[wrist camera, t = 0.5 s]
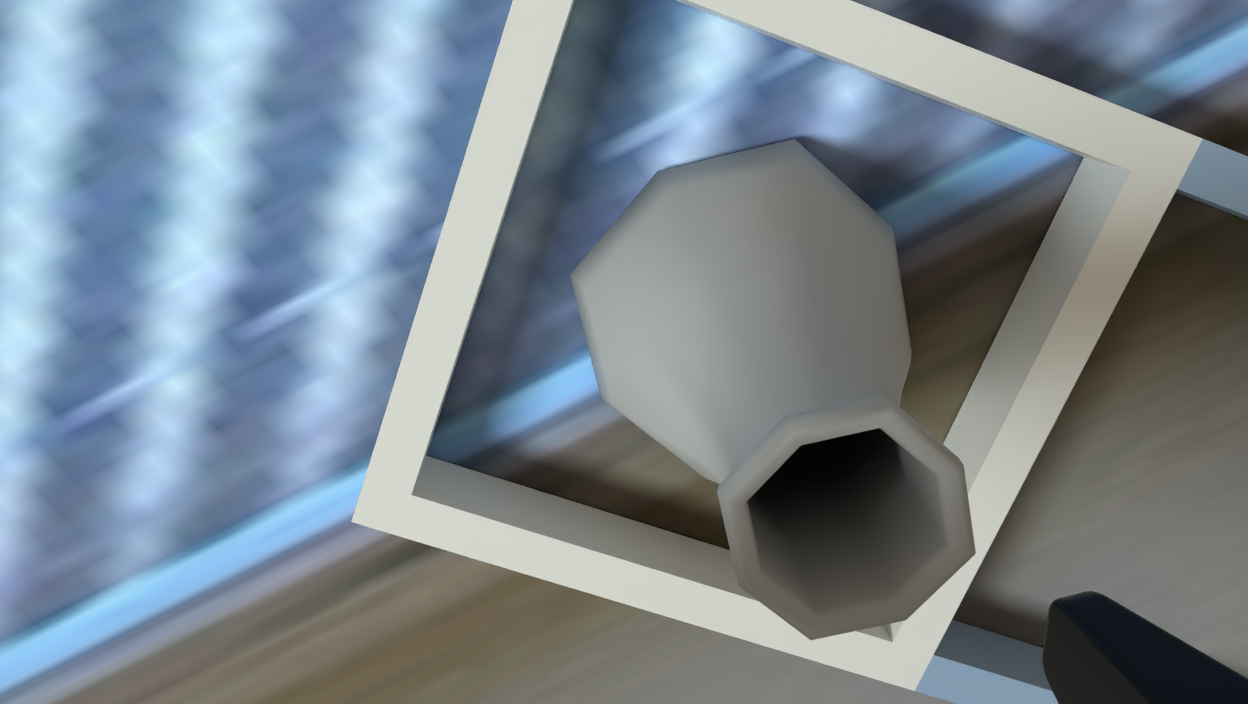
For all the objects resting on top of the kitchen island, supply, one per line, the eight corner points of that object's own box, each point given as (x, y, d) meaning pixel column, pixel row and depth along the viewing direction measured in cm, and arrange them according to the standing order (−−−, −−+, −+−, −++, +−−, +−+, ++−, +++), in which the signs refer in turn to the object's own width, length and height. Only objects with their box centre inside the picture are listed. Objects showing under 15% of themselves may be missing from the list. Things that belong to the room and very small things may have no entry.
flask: (809, 75, 21) (989, 124, 11) (962, 361, 23) (1223, 606, 13) (511, 258, 22) (447, 444, 12) (682, 517, 24) (740, 847, 14)
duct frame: (1619, 312, 23) (1712, 339, 21) (1310, 768, 27) (1366, 826, 25) (554, -106, 20) (549, -119, 18) (371, 480, 23) (351, 522, 21)
